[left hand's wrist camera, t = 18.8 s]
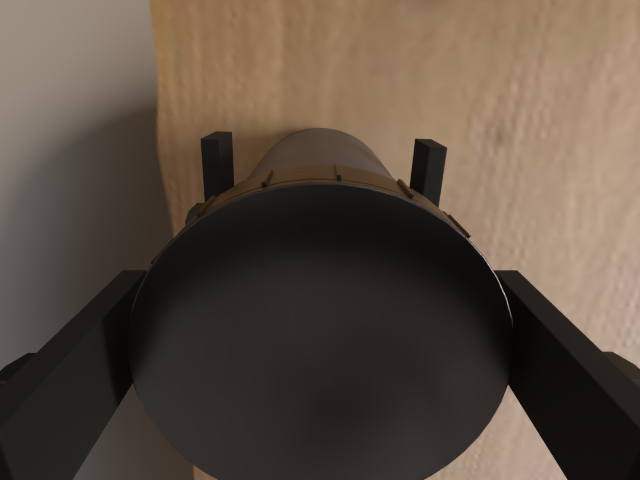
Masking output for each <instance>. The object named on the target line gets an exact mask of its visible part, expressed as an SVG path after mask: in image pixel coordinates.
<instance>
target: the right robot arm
mask: <svg viewBox="0 0 640 480" xmlns="http://www.w3.org/2000/svg"><path fill="white" fill-rule="evenodd" d="M201 150H202V165H203V180H204V195H205V203H206V202H207V201H208V200H209V199H210V198H211V197H212V196H215V197H218V196H219V195H220V194H222V193H223V192H225V191H227V190H229V189H230V188H232V187H234V172H233V147H232V132H214V133H212V134H210V135H208V136H206V137H204V138H201ZM446 152H447V147H445V146H443V145H441V144H439V143H437V142H435V141H433V140H431V139H415V145H414V154H413V163H412V171H411V180H410V188H411V189H413V190H415V191H416V192H418V193H419V194H421V195H423V196H424V197H426V198H427V199H428V200H429V201H431V202H432V203H433V204H434V205H435V206H437V207H439V200H440V193H441V187H442V180H443V173H444V166H445V159H446ZM205 203H197V204H196V205H195V206H194V207H193V208H192V209H191V210H190V211H189V212H188V215H187V218H186V221H185V223H186V225H187V224H188V223H189V222H190V221H191V220H192V219H193V218H194V217H195V214H196V213H197V212H198V211H199V210H200V209H201V207H202V206H203V205H204V204H205ZM443 213H444V214H445V215H446V216H448V215H447V214H446V213H445V212H444V211H443Z"/></svg>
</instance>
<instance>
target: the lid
mask: <svg viewBox="0 0 640 480" xmlns="http://www.w3.org/2000/svg"><path fill="white" fill-rule="evenodd" d="M469 237H471V236H470V235H469V234H468V233H467V232H466V231H465V230H464V229H463V227H462V226H461V225H460V224H459V223H458V222H457V221H456V220H455V219H454V218H453V217H452V216H451V215H450V214H449V215H448V216H446V215H445V214H444V213H443V211H441V210H440V209H439V208H438V207H437V206H435V205H434V204H433V203H432V202H431V201H429V200H428V199H427V198H426V197H424V196H423V195H421V194H419V193H418V192H416V191H415V190H413V189H411V188H410V187H408V186H407V185H406V184H405V183H404V182H403V181H402V180H401V179H398V181H395V180H393V179H391V178H389V177H386V176H384V175H381V174H377V173H374V172H370V171H367V170H363V169H359V168H352V167H345V166H339V163H336V162H335V165H305V166H296V167H287V168H283V169H279V170H275V171H273V169H272V168H271V169H268V171H267V172H266V173H263V174H261V175H258V176H256V177H253V178H251V179H248V180H246V181H243V182H241V183H239V184H237V185H236V186H234V187H232V188H230V189H229V190H227V191H225V192H223V193H222V194H220V195H219V196H218V197H215V196H212V197H211V198H210V199H209V200H208V201H207V202H206V203H205V204H204V205H203V206H202V207H201V209H200V210H199V211H198V212H197V213H196V214H195V217H194V218H193V219H192V220H191V221H190V222H189V223H188V224H187V225H186V226H185V227H184V228H183V229H182V230H181V231H180V232H179V233H178V234H177V236H176V237H175V238H173V239H172V240H171V241H170V242H169V243H168V244H167V245H166V247H165V248H164V249H163V250H162V251H161V252H160V253H159V254H158V255H157V256H156V257H155V258H154V259H153V261H152V262H151V264H152V266H151V267H150V269H149V270H148V272H147V273H146V275H145V277H144V279H143V281H142V283H141V285H140V287H139V289H138V291H137V294H136V297H135V301H134V304H133V307H132V310H131V314H130V320H129V328H128V335H127V341H128V361H129V366H130V372H131V377H132V381H133V383H134V386H135V389H136V392H137V395H138V398H139V400H140V402H141V404H142V406H143V408H144V410H145V411H146V413H147V415H148V417H149V418H150V420H151V421H152V423H153V424H154V426H155V427H156V428H157V430H158V431H159V433H160V434H161V435H162V436H163V437H164V438H165V439H166V440H167V442H168V443H169V444H170V445H171V446H172V447H173V448H174V449H175V450H176V451H177V452H179V453H180V454H181V455H182V456H183V457H184V458H185V459H187V460H188V461H189V462H190V463H192V464H193V465H195V466H196V467H198V468H199V469H201V470H202V471H203V472H205V473H206V474H208V475H210V476H212V477H214V478H216V479H218V480H424V479H426V478H428V477H430V476H431V475H433V474H435V473H436V472H438V471H439V470H441V469H442V468H444V467H445V466H447V465H448V464H450V463H451V462H452V461H453V460H455V459H456V458H457V457H458V456H460V455H461V454H462V453H463V452H464V451H465V450H466V449H467V448H468V447H469V446H470V445H471V444H472V443H473V442H474V441H475V440H476V439H477V438H478V437H479V436H480V434H481V433H482V432H483V430H484V429H485V428H486V426H487V425H488V424H489V422H490V421H491V419H492V418H493V416H494V414H495V412H496V410H497V409H498V407H499V405H500V403H501V401H502V399H503V396H504V393H505V391H506V388H507V386H508V383H509V378H510V374H511V370H512V365H513V355H514V332H513V321H512V316H511V312H510V309H509V305H508V301H507V298H506V295H505V293H504V291H503V288H502V286H501V284H500V282H499V279H498V277H497V276H496V274H495V272H494V271H493V269H492V268H491V266H490V265H489V263H488V262H487V260H486V259H485V257H484V256H483V255H482V254H481V252H480V251H479V250H478V249H477V248H476V247H475V246H474V245H473V243H472V242H471V241H470V240H469V239H468V238H469Z"/></svg>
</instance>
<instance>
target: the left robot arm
mask: <svg viewBox="0 0 640 480" xmlns="http://www.w3.org/2000/svg"><path fill="white" fill-rule="evenodd" d="M494 272H495V274H496V276H497V277H498V279H499V282H500V284H501V286H502V288H503V291H504V293H505V295H506V298H507V301H508V305H509V309H510V312H511V316H512V321H513V332H514V355H513V365H512V370H511V374H510V378H509V383H508V385H509V386H510V388H511V390H512V391H513V393H514V394H515V396H516V398H517V399H518V401H519V402H520V404H521V406H522V407H523V409H524V410H525V412H526V414H527V415H528V417H529V419H530V420H531V422H532V423H533V425H534V427H535V428H536V430H537V431H538V433H539V435H540V436H541V438H542V439H543V441H544V443H545V444H546V446H547V447H548V449H549V451H550V452H551V454H552V455H553V457H554V459H555V460H556V462H557V464H558V465H559V467H560V468H561V470H562V472H563V473H564V475H565V476H566V478H567V480H640V369H639V368H638V367H637V366H636V365H634V364H633V363H631V362H629V361H628V360H626V359H624V358H622V357H621V356H619V355H617V354H615V353H614V352H602V351H601V350H600V349H599V348H598V347H597V346H596V345H595V344H594V343H593V342H591V341H590V340H589V339H588V338H587V337H586V336H585V335H584V334H583V333H582V332H581V331H580V330H579V329H578V328H577V327H576V326H575V325H574V324H573V323H572V322H571V321H570V320H568V319H567V318H566V317H565V316H564V315H563V314H562V313H561V312H560V311H559V310H558V309H557V308H556V307H555V306H554V305H553V304H552V303H551V302H550V301H549V300H548V299H547V298H545V297H544V296H543V295H542V294H541V293H540V292H539V291H538V290H537V289H536V288H535V287H534V286H533V285H532V284H531V283H530V282H529V281H528V280H527V279H526V278H525V277H523V276H522V275H521V274H520V273H519V272H518V271H517V270H494ZM146 273H147V272H146V270H123V271H122V272H121V273H120V274H119V275H118V276H117V277H115V278H114V279H113V280H112V281H111V282H110V283H109V284H108V285H107V286H106V287H105V288H104V289H103V290H102V291H101V292H100V293H99V294H98V295H97V296H96V297H95V298H93V300H91V301H90V302H89V303H88V304H87V305H86V306H85V307H84V308H83V309H82V310H81V311H80V312H79V313H78V314H77V315H76V316H75V317H74V318H73V319H72V320H70V321H69V322H68V323H67V324H66V325H65V326H64V327H63V328H62V329H61V330H60V331H59V332H58V333H57V334H56V335H55V336H54V337H53V338H52V339H51V340H50V341H49V342H47V343H46V344H45V345H44V346H43V347H42V348H41V349H40V350H39V351H38V352H37V353H27V354H26V355H24V356H22V357H21V358H19V359H17V360H15V361H14V362H12V363H10V364H8V365H7V366H5V367H4V368H3V369H2V370H1V371H0V480H73V478H74V476H75V475H76V473H77V472H78V470H79V468H80V467H81V465H82V463H83V462H84V460H85V459H86V457H87V455H88V454H89V452H90V451H91V449H92V447H93V446H94V444H95V443H96V441H97V439H98V438H99V436H100V435H101V433H102V431H103V430H104V428H105V427H106V425H107V423H108V422H109V420H110V419H111V417H112V415H113V414H114V412H115V410H116V409H117V407H118V406H119V404H120V402H121V401H122V399H123V398H124V396H125V394H126V393H127V391H128V390H129V388H130V386H131V385H132V383H133V381H132V377H131V372H130V366H129V361H128V341H127V335H128V328H129V320H130V314H131V310H132V307H133V304H134V301H135V297H136V294H137V291H138V289H139V287H140V285H141V283H142V281H143V279H144V277H145V275H146Z"/></svg>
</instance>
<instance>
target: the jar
mask: <svg viewBox="0 0 640 480" xmlns="http://www.w3.org/2000/svg"><path fill="white" fill-rule="evenodd" d="M335 162H336V163H339V166H345V167H352V168H359V169H363V170H367V171H370V172H374V173H377V174H381V175H384V176H386V177H389V178H391V179H393V177H392V176H391V175H390V173H389V172H388V171H387V169H386V168H385V167H384V166H383V164H382V163H381V162H380V160H379V159H378V158H377V156H376V155H375V154H374V153H373V152H372V151H371V149H370V148H369V147H367V146H366V145H365V144H364V143H363V142H361V141H360V140H358V139H357V138H355V137H353V136H351V135H349V134H347V133H344V132H341V131H338V130H332V129H322V128H317V129H308V130H304V131H299V132H297V133H294V134H292V135H289V136H288V137H286V138H284V139H282V140H281V141H279V142H278V143H277V144H275V145H274V146H273V147H272V148H271V149H270V150H269V151H268V152H267V154H266V155H265V156H264V157H263V159H262V160H261V161H260V163H259V164H258V165H257V167H256V168H255V169H254V171H253V172H252V173H251V175H250V176H249V177H248V179H251V178H253V177H256V176H258V175H261V174H263V173H266V172H267V171H268V169H271V168H272V169H273V171H275V170H279V169H283V168H287V167H296V166H305V165H335ZM248 179H247V180H248ZM393 180H394V179H393Z"/></svg>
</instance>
